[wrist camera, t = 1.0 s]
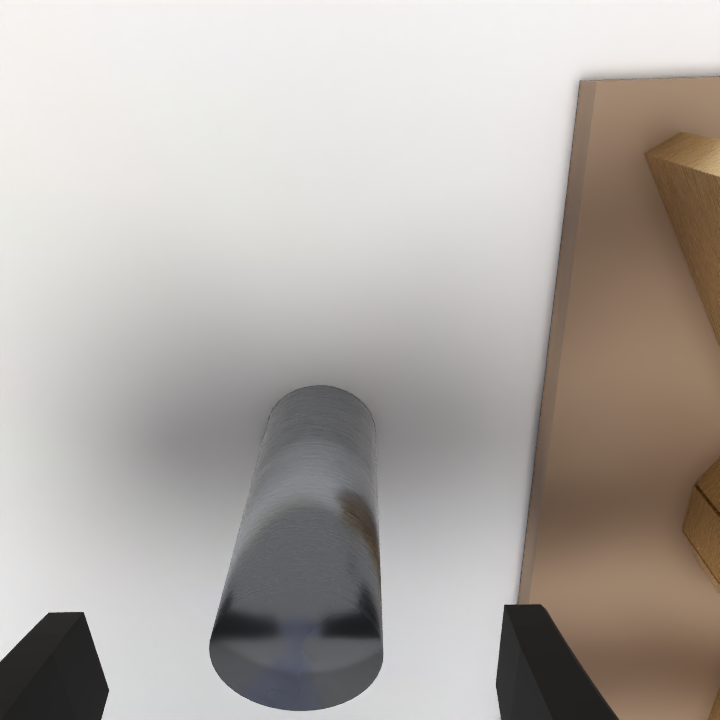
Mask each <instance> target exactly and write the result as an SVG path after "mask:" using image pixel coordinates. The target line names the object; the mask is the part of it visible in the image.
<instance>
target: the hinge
mask: <svg viewBox="0 0 720 720" xmlns="http://www.w3.org/2000/svg"><path fill="white" fill-rule="evenodd" d="M643 154H644V156H645V159H646V161H647V164H648V166H649V169H650V171H651V174H652V177H653V179H654V182H655V184H656V187H657V189H658V192H659V194H660V197H661V200H662V202H663V205H664V207H665V210H666V212H667V215H668V217H669V220H670V223H671V225H672V228H673V230H674V233H675V235H676V238H677V240H678V243H679V246H680V248H681V251H682V253H683V256H684V258H685V261H686V263H687V266H688V269H689V271H690V274H691V276H692V279H693V281H694V284H695V286H696V289H697V291H698V294H699V297H700V299H701V302H702V304H703V307H704V309H705V312H706V314H707V317H708V320H709V322H710V325H711V327H712V330H713V332H714V335H715V337H716V340H717V343H718V345H719V348H720V140H719V139H715V138H710V137H705V136H700V135H695V134H690V133H685V132H680V133H678V134H676V135H674V136H673V137H671V138H669V139H667V140H666V141H664V142H662V143H660V144H659V145H657V146H655V147H653V148H652V149H650V150H648V151H646V152H645V153H643ZM696 484H697V485H693V489H692V492H691V496H690V500H689V504H688V507H687V511H686V515H685V519H684V523H683V526H682V529H683V531H682V532H683V534H684V536H685V538H686V540H687V542H688V544H689V546H690V548H691V550H692V552H693V554H694V556H695V558H696V560H697V562H698V564H699V566H700V567H701V569H702V570H703V572H704V573H705V575H706V576H707V578H708V579H709V581H710V582H711V584H712V585H713V587H714V588H715V590H716V591H717V593H718V594H719V596H720V457H719V458H718V459H717V460H716V461H715V462H714V463H713V464H712V465H711V466H710V467H709V468H708V469H707V470H706V471H705V472H704V473H703V475H702V476H701V477H700V478H699V479H698V480H697V481H696ZM708 720H720V687H719V689H718V692H717V695H716V698H715V701H714V704H713V706H712V709H711V712H710V715H709V718H708Z"/></svg>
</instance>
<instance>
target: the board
mask: <svg viewBox="0 0 720 720" xmlns="http://www.w3.org/2000/svg"><path fill="white" fill-rule="evenodd" d="M680 132H685V133H690V134H695V135H700V136H705V137H710V138H715V139H719V140H720V76H716V77H684V78H653V79H621V80H590V81H580V87H579V96H578V104H577V113H576V121H575V129H574V138H573V146H572V154H571V163H570V171H569V180H568V188H567V196H566V205H565V213H564V221H563V230H562V238H561V247H560V255H559V263H558V272H557V280H556V288H555V297H554V305H553V314H552V322H551V330H550V339H549V347H548V356H547V364H546V372H545V381H544V389H543V397H542V406H541V414H540V423H539V431H538V439H537V448H536V456H535V464H534V473H533V481H532V490H531V498H530V506H529V515H528V523H527V531H526V540H525V548H524V557H523V565H522V573H521V582H520V590H519V598H518V605H519V604H541V605H542V606H543V607H544V608H546V610H547V611H548V613H549V615H550V616H551V618H552V620H553V621H554V623H555V625H556V626H557V628H558V630H559V631H560V633H561V634H562V636H563V638H564V639H565V641H566V642H567V644H568V646H569V647H570V649H571V650H572V652H573V653H574V655H575V656H576V658H577V659H578V661H579V662H580V664H581V665H582V667H583V668H584V670H585V671H586V673H587V674H588V676H589V677H590V679H591V680H592V682H593V683H594V685H595V686H596V688H597V689H598V690H599V692H600V693H601V695H602V696H603V698H604V699H605V700H606V702H607V703H608V705H609V706H610V707H611V709H612V710H613V712H614V713H615V714H616V716H617V717H618V718H619V720H708V718H709V715H710V712H711V709H712V706H713V704H714V701H715V698H716V695H717V692H718V689H719V687H720V596H719V594H718V593H717V591H716V590H715V588H714V587H713V585H712V584H711V582H710V581H709V579H708V578H707V576H706V575H705V573H704V572H703V570H702V569H701V567H700V566H699V564H698V562H697V560H696V558H695V556H694V554H693V552H692V550H691V548H690V546H689V544H688V542H687V540H686V538H685V536H684V534H683V532H682V531H683V529H682V526H683V523H684V519H685V515H686V511H687V507H688V504H689V500H690V496H691V492H692V489H693V485H697V484H696V481H697V480H698V479H699V478H700V477H701V476H702V475H703V473H704V472H705V471H706V470H707V469H708V468H709V467H710V466H711V465H712V464H713V463H714V462H715V461H716V460H717V459H718V458H719V457H720V348H719V345H718V343H717V340H716V337H715V335H714V332H713V330H712V327H711V325H710V322H709V320H708V317H707V314H706V312H705V309H704V307H703V304H702V302H701V299H700V297H699V294H698V291H697V289H696V286H695V284H694V281H693V279H692V276H691V274H690V271H689V269H688V266H687V263H686V261H685V258H684V256H683V253H682V251H681V248H680V246H679V243H678V240H677V238H676V235H675V233H674V230H673V228H672V225H671V223H670V220H669V217H668V215H667V212H666V210H665V207H664V205H663V202H662V200H661V197H660V194H659V192H658V189H657V187H656V184H655V182H654V179H653V177H652V174H651V171H650V169H649V166H648V164H647V161H646V159H645V156H644V154H643V153H645V152H646V151H648V150H650V149H652V148H653V147H655V146H657V145H659V144H660V143H662V142H664V141H666V140H667V139H669V138H671V137H673V136H674V135H676V134H678V133H680Z"/></svg>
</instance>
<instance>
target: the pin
mask: <svg viewBox="0 0 720 720" xmlns="http://www.w3.org/2000/svg"><path fill="white" fill-rule="evenodd" d="M209 651H210V658H211V661H212V665H213V667H214V669H215V671H216V672H217V674H218V675H219V676H220V678H221V679H222V680H223V681H224V682H225V683H226V684H227V685H228V686H229V687H230V688H231V689H233V690H234V691H235V692H237V693H238V694H240V695H241V696H243V697H245V698H247V699H249V700H251V701H253V702H256V703H258V704H261V705H264V706H268V707H272V708H277V709H282V710H291V711H309V710H319V709H325V708H329V707H333V706H336V705H339V704H342V703H344V702H347V701H349V700H351V699H353V698H354V697H356V696H358V695H359V694H361V693H362V692H363V691H364V690H366V689H367V688H368V687H369V686H370V685H371V684H372V683H373V681H374V680H375V678H376V677H377V675H378V673H379V671H380V669H381V666H382V662H383V631H382V603H381V575H380V548H379V520H378V492H377V464H376V436H375V425H374V421H373V418H372V416H371V414H370V412H369V411H368V409H367V408H366V406H365V405H364V404H363V403H362V402H361V401H360V400H359V399H358V398H356V397H355V396H353V395H352V394H350V393H348V392H346V391H344V390H341V389H338V388H335V387H329V386H310V387H305V388H301V389H298V390H296V391H294V392H291V393H290V394H288V395H287V396H285V397H284V398H283V399H281V400H280V401H279V402H278V404H277V405H276V406H275V407H274V409H273V410H272V412H271V414H270V417H269V420H268V424H267V428H266V431H265V435H264V439H263V443H262V446H261V450H260V454H259V458H258V461H257V465H256V469H255V473H254V477H253V480H252V484H251V488H250V492H249V495H248V499H247V503H246V507H245V510H244V514H243V518H242V522H241V526H240V529H239V533H238V537H237V541H236V544H235V548H234V552H233V556H232V559H231V563H230V567H229V571H228V575H227V578H226V582H225V586H224V590H223V593H222V597H221V601H220V605H219V608H218V612H217V616H216V620H215V624H214V627H213V631H212V635H211V639H210V645H209Z"/></svg>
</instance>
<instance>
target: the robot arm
mask: <svg viewBox="0 0 720 720" xmlns="http://www.w3.org/2000/svg"><path fill="white" fill-rule="evenodd" d="M496 689H497V695H498V702H499V708H500V714H501V720H619V718H618V717H617V716H616V714H615V713H614V712H613V710H612V709H611V707H610V706H609V705H608V703H607V702H606V700H605V699H604V698H603V696H602V695H601V693H600V692H599V690H598V689H597V688H596V686H595V685H594V683H593V682H592V680H591V679H590V677H589V676H588V674H587V673H586V671H585V670H584V668H583V667H582V665H581V664H580V662H579V661H578V659H577V658H576V656H575V655H574V653H573V652H572V650H571V649H570V647H569V646H568V644H567V642H566V641H565V639H564V638H563V636H562V634H561V633H560V631H559V630H558V628H557V626H556V625H555V623H554V621H553V620H552V618H551V616H550V615H549V613H548V611H547V610H546V608H544V607H543V606H542V605H541V604H519V605H504V613H503V623H502V632H501V641H500V650H499V660H498V669H497V678H496ZM108 693H109V688H108V685H107V682H106V679H105V676H104V673H103V670H102V667H101V664H100V661H99V658H98V655H97V652H96V649H95V645H94V642H93V639H92V636H91V633H90V630H89V627H88V624H87V621H86V618H85V615H84V612H57V613H48V614H47V615H46V616H45V617H44V618H43V619H42V620H41V621H40V622H39V623H38V624H37V625H36V626H35V627H34V628H33V629H32V630H31V631H30V632H29V633H28V634H27V635H26V636H25V637H24V638H23V639H22V640H21V641H20V642H19V643H18V644H17V645H16V646H15V647H14V648H13V649H12V650H11V651H10V652H9V653H8V654H7V655H6V656H5V657H4V658H3V659H2V660H1V662H0V720H101V718H102V714H103V711H104V707H105V704H106V700H107V696H108Z"/></svg>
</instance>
